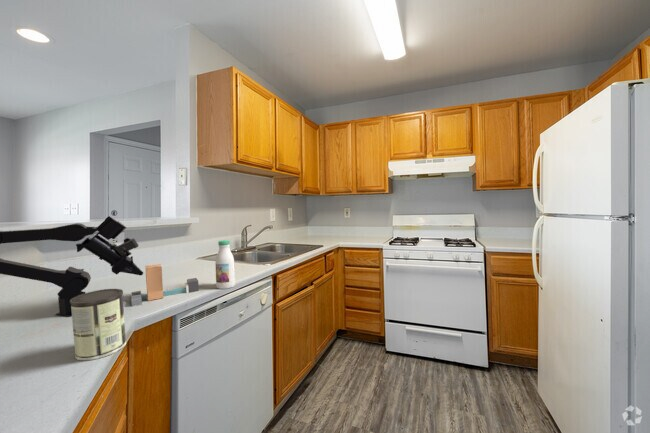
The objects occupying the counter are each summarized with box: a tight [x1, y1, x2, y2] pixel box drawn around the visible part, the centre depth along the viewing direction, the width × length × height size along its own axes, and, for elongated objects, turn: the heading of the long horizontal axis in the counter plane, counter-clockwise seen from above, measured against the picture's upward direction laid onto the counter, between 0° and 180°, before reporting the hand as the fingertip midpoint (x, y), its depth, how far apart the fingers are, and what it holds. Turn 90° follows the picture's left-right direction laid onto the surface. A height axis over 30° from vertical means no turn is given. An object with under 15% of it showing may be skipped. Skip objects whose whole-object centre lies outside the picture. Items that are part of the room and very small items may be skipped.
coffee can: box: [70, 288, 127, 361], centre depth 70 cm, size 10×10×14 cm
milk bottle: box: [215, 239, 236, 290], centre depth 120 cm, size 8×8×20 cm
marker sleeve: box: [145, 263, 164, 301], centre depth 109 cm, size 5×7×12 cm
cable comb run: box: [131, 277, 200, 307], centre depth 111 cm, size 23×12×4 cm, turn 125°
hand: (142, 274), depth 106 cm, fingers closed
